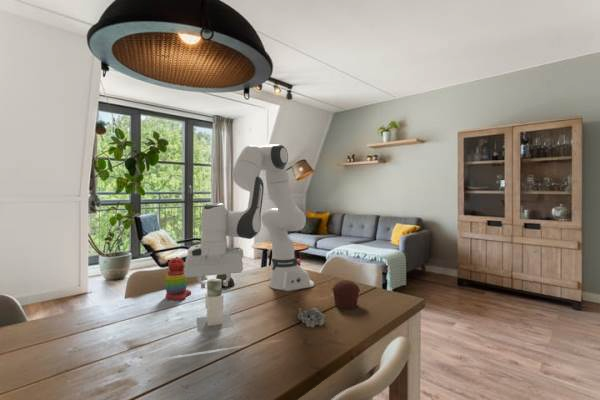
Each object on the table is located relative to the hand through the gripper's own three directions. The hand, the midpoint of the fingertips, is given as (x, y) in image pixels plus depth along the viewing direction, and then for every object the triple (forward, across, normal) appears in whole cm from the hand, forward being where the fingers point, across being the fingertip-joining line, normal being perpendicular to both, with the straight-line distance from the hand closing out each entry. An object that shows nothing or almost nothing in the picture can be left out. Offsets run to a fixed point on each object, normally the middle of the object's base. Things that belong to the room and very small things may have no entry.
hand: (214, 287), depth 113 cm
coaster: (+13, 0, 0) cm, 13 cm away
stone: (+14, -8, -46) cm, 48 cm away
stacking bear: (+14, +14, -36) cm, 41 cm away
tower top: (+8, 0, 0) cm, 8 cm away
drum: (+3, 0, 0) cm, 3 cm away
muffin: (+14, -53, -1) cm, 55 cm away
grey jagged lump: (+14, -34, +9) cm, 37 cm away
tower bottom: (+13, 0, 0) cm, 13 cm away
